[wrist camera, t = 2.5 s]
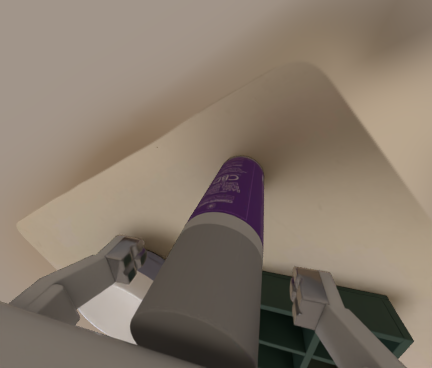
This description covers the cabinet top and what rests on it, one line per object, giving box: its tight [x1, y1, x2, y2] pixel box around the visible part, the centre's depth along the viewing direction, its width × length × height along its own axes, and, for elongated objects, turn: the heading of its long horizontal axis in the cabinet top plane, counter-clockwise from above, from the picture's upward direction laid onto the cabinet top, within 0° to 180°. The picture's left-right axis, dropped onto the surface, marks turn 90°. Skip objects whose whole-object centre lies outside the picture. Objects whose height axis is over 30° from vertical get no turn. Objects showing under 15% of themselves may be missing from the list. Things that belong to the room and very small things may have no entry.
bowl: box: [78, 251, 165, 345], centre depth 27 cm, size 14×14×8 cm
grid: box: [257, 271, 414, 368], centre depth 24 cm, size 15×15×4 cm
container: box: [130, 156, 264, 368], centre depth 13 cm, size 5×5×15 cm
